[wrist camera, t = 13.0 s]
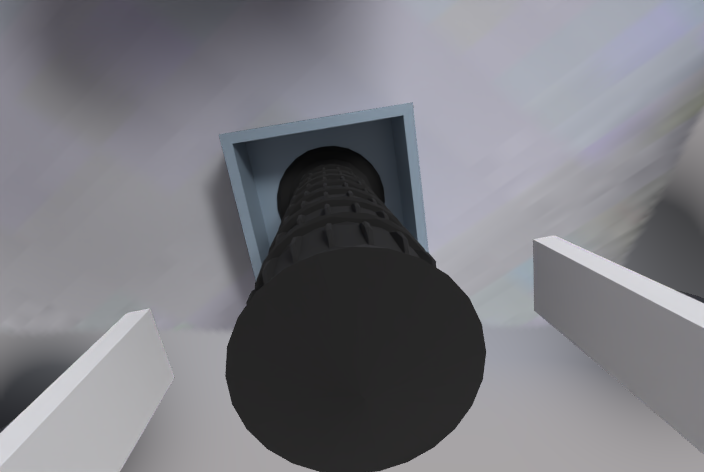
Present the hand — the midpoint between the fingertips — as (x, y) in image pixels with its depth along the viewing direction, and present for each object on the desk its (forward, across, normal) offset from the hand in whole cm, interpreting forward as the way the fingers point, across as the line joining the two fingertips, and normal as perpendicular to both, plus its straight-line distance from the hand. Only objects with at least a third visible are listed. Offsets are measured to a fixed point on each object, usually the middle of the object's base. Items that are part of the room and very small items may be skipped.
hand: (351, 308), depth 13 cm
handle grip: (+23, 0, -1) cm, 23 cm away
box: (+23, 0, -1) cm, 23 cm away
